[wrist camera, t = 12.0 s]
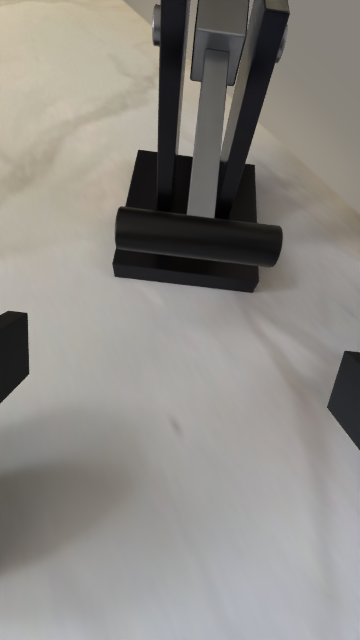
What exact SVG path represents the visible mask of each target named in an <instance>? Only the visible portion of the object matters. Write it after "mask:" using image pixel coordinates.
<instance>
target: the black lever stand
mask: <svg viewBox="0 0 360 640" xmlns="http://www.w3.org/2000/svg"><path fill="white" fill-rule="evenodd" d="M190 1H191V0H161V5H157V4H156V5H155V6H154V12H153V25H152V39H153V45H154V46H159V47H160V58H159V109H158V152H152V151H145V150H138V153H137V157H136V162H135V166H134V171H133V175H132V180H131V184H130V188H129V193H128V197H127V202H126V206H125V207H130V208H138V209H146V210H154V211H162V212H170V213H178V214H186V215H187V207H188V198H189V189H190V180H191V171H192V162H193V157H190V156H183V155H178V146H179V134H180V122H181V110H182V98H183V86H184V73H185V61H186V48H187V37H188V25H189V13H190ZM289 15H290V12H289V6H288V0H254V2H253V6H252V11H251V16H250V20H249V25H248V30H247V34H246V40H245V44H244V48H243V53H242V58H241V62H240V67H239V72H238V76H237V81H236V86H235V90H234V95H233V99H232V104H231V109H230V113H229V118H228V123H227V127H226V132H225V137H224V141H223V146H222V151H221V155H220V163H219V174H218V184H217V195H216V206H215V216H214V218H218V219H226V220H234V221H242V222H250V223H257V214H256V185H255V165H251V164H245V162H246V159H247V155H248V152H249V149H250V145H251V142H252V139H253V135H254V132H255V129H256V125H257V122H258V118H259V115H260V112H261V108H262V105H263V102H264V98H265V95H266V92H267V88H268V85H269V82H270V78H271V75H272V72H273V68H274V65H275V63H278V62H279V60H280V58H281V56H282V53H283V50H284V46H285V42H286V37H287V29H288V25H287V21H288V18H289ZM112 265H113V270H114V276H115V277H123V278H131V279H140V280H148V281H157V282H165V283H174V284H182V285H191V286H200V287H208V288H217V289H225V290H234V291H242V292H251V293H253V291H254V289H255V288H256V286H257V284H258V282H259V271H258V266H255V265H246V264H238V263H230V262H221V261H213V260H205V259H196V258H188V257H180V256H171V255H163V254H155V253H147V252H138V251H130V250H122V249H118V248H117V247H116V250H115V255H114V259H113V263H112Z"/></svg>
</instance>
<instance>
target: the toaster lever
mask: <svg viewBox="0 0 360 640" xmlns="http://www.w3.org/2000/svg"><path fill="white" fill-rule="evenodd" d="M248 11H249V0H198V5H197V14H196V22H195V31H194V42H193V53H192V64H191V75H190V79H191V80H192V81H199V82H201V89H200V98H199V107H198V117H197V126H196V135H195V144H194V153H193V162H192V171H191V180H190V189H189V198H188V207H187V215H186V214H178V213H170V212H162V211H154V210H146V209H138V208H130V207H122V206H121V207H119V209H118V212H117V216H116V223H115V243H116V247H117V248H118V249H122V250H130V251H138V252H147V253H155V254H163V255H171V256H180V257H188V258H196V259H205V260H213V261H221V262H230V263H238V264H246V265H255V266H263V267H273V266H274V265H275V264H276V262H277V260H278V258H279V255H280V252H281V248H282V240H283V234H282V229H281V227H279V226H274V225H266V224H258V223H250V222H242V221H234V220H226V219H218V218H214V216H215V206H216V195H217V184H218V174H219V163H220V153H221V142H222V131H223V121H224V110H225V100H226V89H227V86H234V84H235V80H236V76H237V72H238V68H239V64H240V60H241V56H242V52H243V48H244V44H245V40H246V34H247V22H248Z"/></svg>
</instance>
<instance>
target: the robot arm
mask: <svg viewBox="0 0 360 640" xmlns="http://www.w3.org/2000/svg"><path fill="white" fill-rule="evenodd" d="M28 375H29V349H28V315H27V313H23V312H14V311H7V312H5V313H3V314H1V315H0V403H1V402H2V401H3V400H4V399H5V398H6V397H7V396H8V395H9V394H10V393H11V392H12V391H13V390H14V389H15V388H16V387H17V386H18V385H19V384H20V383H21V382H22V381H23V380H24V379H25V378H26V377H27V376H28ZM327 408H328V409H329V411H330V412H331V413H332V415H333V416H334V417H335V418H336V420H337V421H338V422H339V424H340V425H341V426H342V428H343V429H344V430H345V432H346V433H347V434H348V435H349V437H350V438H351V439H352V441H353V442H354V443H355V445H356V446H357V447H358V449H359V450H360V352H352V351H344V355H343V358H342V361H341V364H340V367H339V371H338V374H337V377H336V380H335V383H334V387H333V390H332V393H331V396H330V399H329V403H328V406H327Z"/></svg>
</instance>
